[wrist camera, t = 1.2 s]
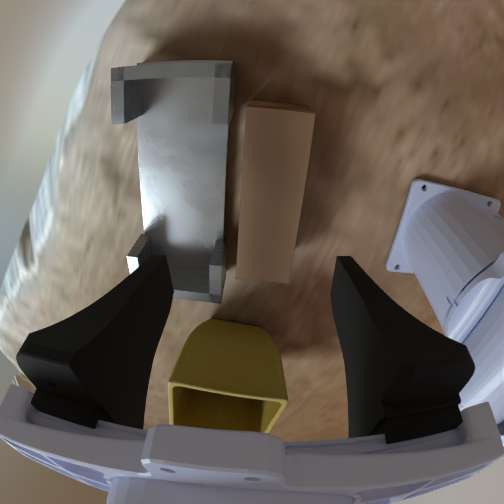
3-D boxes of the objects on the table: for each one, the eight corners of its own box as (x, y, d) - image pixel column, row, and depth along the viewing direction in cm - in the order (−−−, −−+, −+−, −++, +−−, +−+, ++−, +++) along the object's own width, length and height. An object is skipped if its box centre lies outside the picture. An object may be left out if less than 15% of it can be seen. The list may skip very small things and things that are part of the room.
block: (306, 105, 18) (315, 114, 14) (286, 250, 24) (288, 283, 21) (251, 99, 18) (246, 106, 15) (240, 246, 24) (235, 278, 21)
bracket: (238, 61, 16) (231, 59, 13) (226, 273, 25) (220, 305, 22) (137, 63, 16) (111, 64, 13) (149, 264, 25) (134, 294, 22)
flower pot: (190, 297, 27) (166, 382, 19) (287, 314, 27) (290, 402, 20) (186, 354, 32) (169, 427, 24) (265, 368, 32) (263, 442, 25)
